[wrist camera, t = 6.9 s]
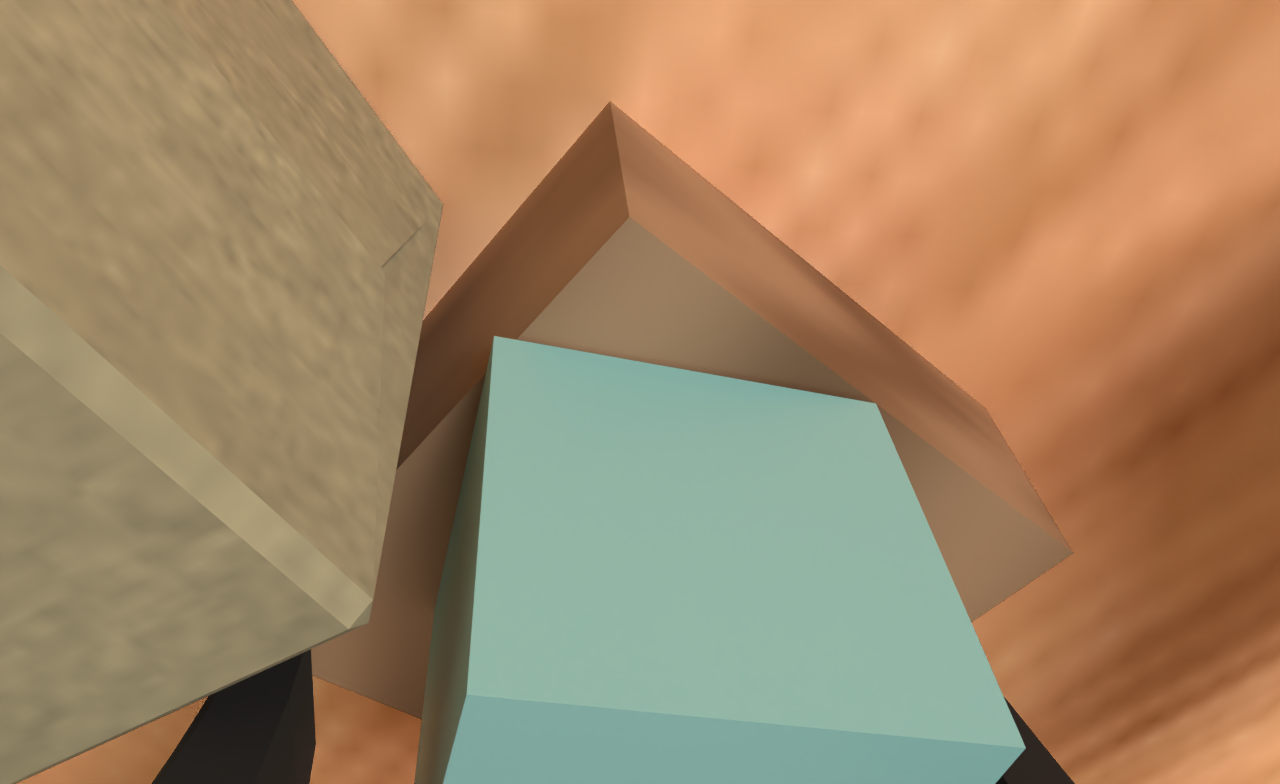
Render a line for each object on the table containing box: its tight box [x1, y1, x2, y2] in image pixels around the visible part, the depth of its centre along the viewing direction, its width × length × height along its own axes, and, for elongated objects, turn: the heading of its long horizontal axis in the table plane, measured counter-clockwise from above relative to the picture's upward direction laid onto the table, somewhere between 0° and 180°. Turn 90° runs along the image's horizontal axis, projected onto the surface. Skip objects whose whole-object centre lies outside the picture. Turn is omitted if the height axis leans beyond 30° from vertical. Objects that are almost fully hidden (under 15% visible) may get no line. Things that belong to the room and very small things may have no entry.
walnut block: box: [311, 101, 1073, 719], centre depth 16 cm, size 9×9×4 cm
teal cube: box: [414, 336, 1026, 784], centre depth 12 cm, size 5×5×5 cm
